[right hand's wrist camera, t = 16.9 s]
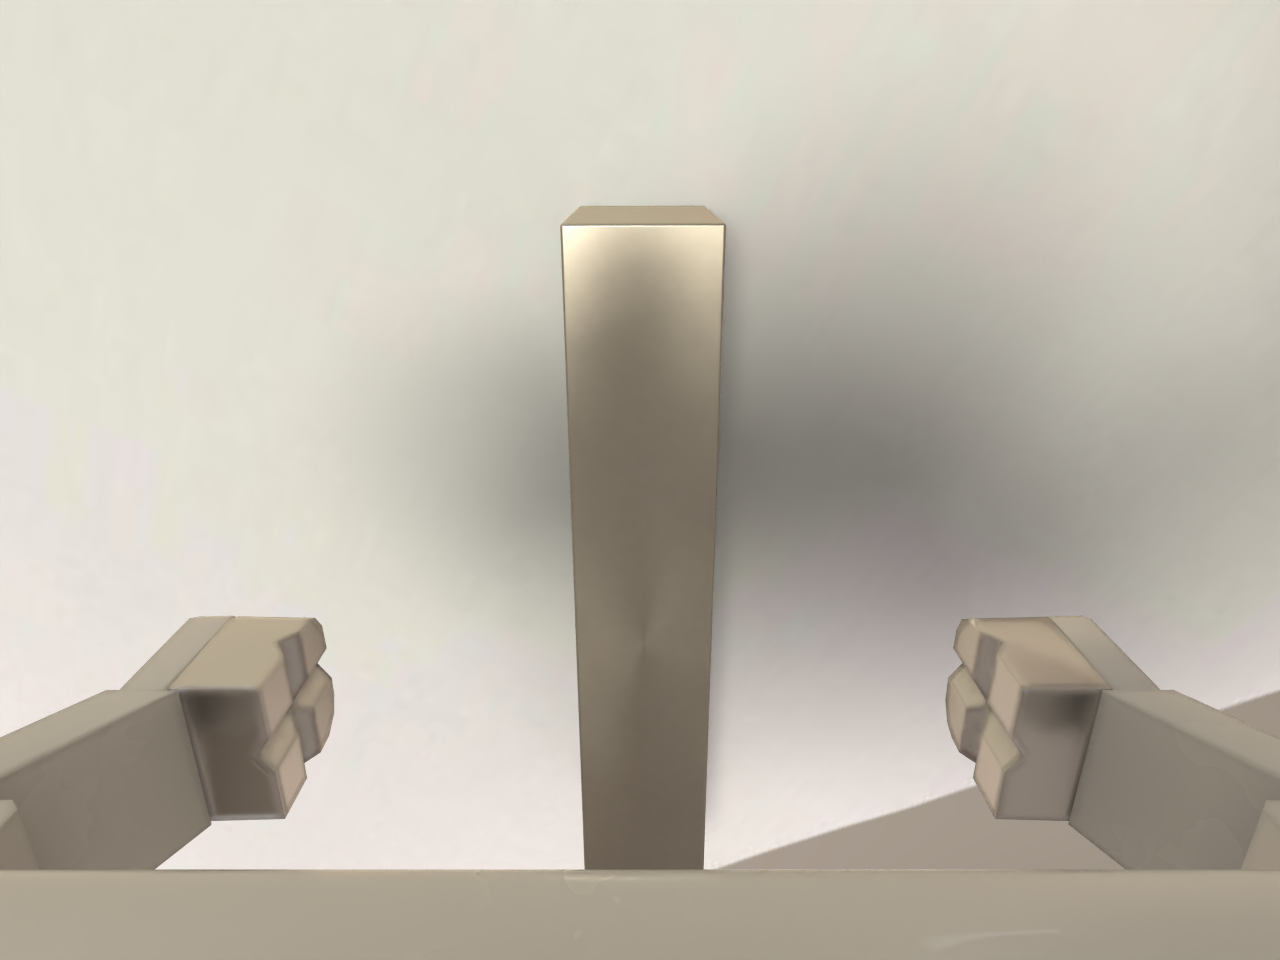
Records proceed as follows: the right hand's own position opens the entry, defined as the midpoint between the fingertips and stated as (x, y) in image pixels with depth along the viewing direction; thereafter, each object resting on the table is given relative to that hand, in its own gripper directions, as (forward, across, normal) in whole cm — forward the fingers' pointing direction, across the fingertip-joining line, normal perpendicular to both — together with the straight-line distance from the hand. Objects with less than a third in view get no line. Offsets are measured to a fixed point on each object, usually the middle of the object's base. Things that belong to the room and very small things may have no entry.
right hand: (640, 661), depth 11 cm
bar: (+24, 0, -10) cm, 25 cm away
